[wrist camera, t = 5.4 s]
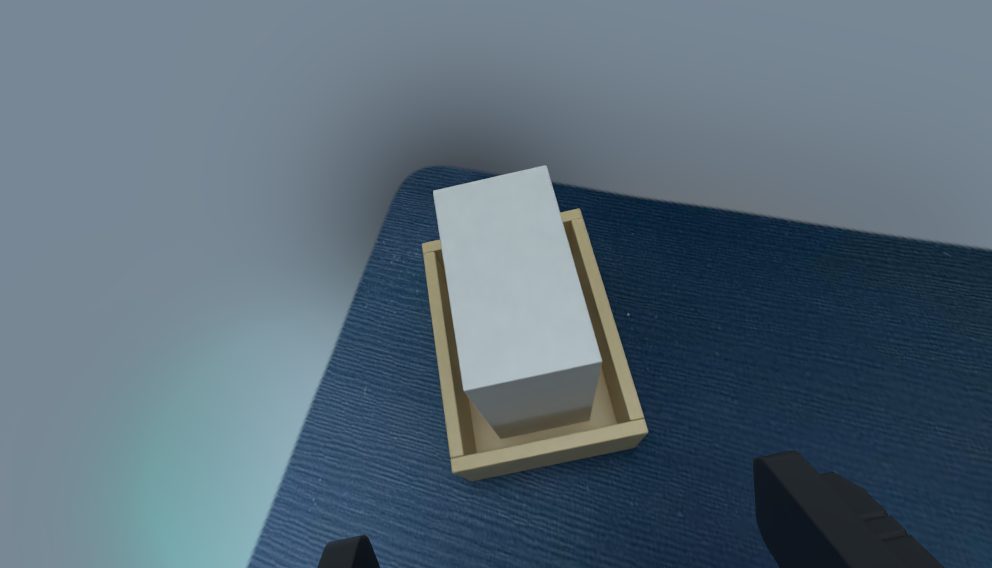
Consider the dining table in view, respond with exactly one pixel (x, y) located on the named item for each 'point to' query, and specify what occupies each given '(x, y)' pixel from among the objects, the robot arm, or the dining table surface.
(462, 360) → the package
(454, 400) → the tray
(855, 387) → the dining table surface
